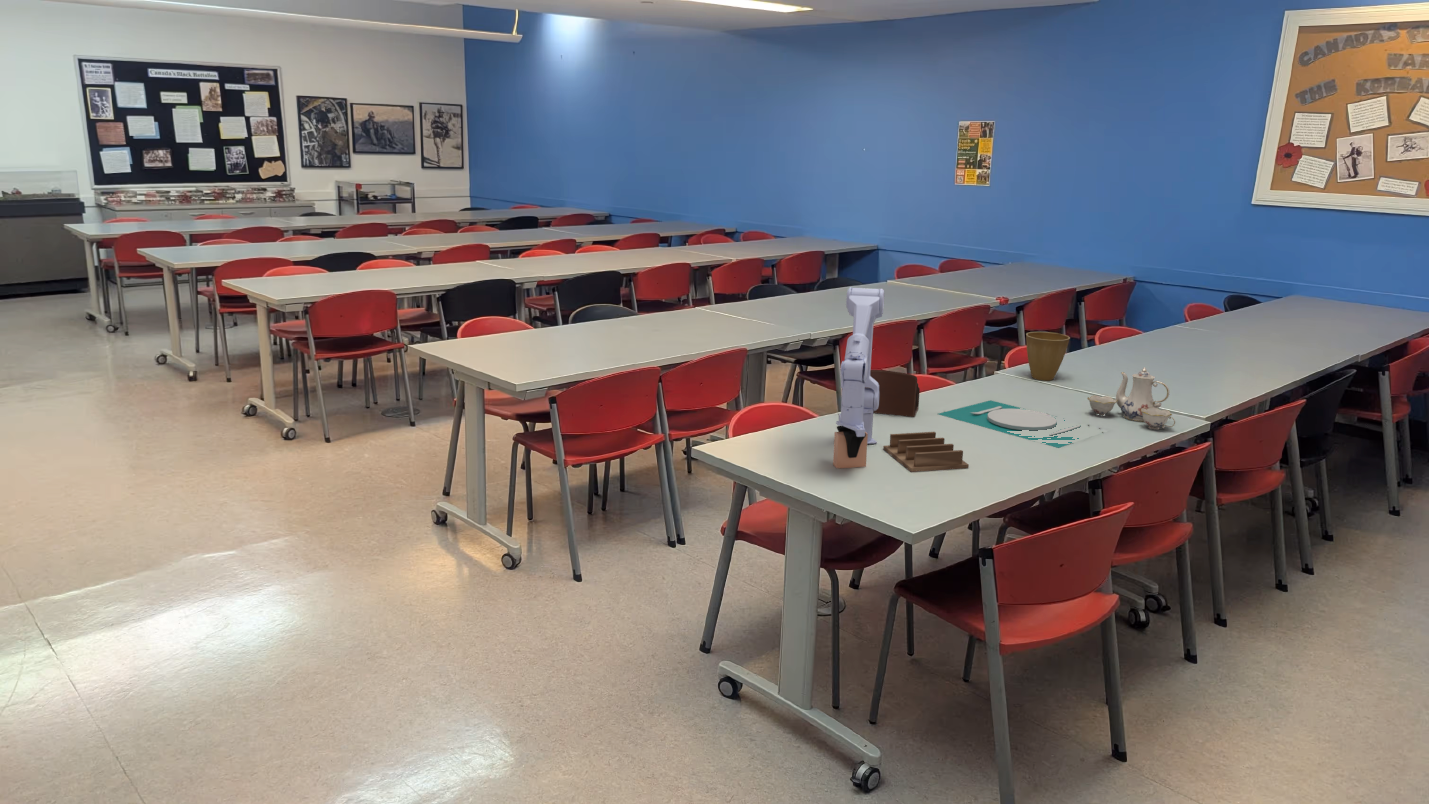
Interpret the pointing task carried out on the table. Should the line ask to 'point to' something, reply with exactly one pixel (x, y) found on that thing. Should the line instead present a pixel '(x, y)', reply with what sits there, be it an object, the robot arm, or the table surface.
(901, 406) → the letter holder
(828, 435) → the table surface
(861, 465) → the orange-brown angular block
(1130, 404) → the chinaware
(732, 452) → the table surface
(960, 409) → the place mat
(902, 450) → the dish rack
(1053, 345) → the plant pot
